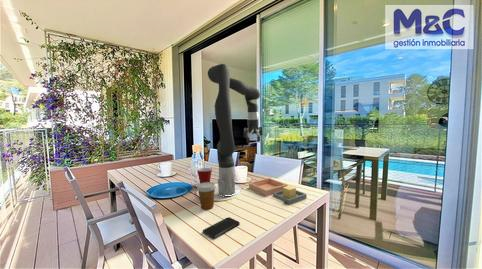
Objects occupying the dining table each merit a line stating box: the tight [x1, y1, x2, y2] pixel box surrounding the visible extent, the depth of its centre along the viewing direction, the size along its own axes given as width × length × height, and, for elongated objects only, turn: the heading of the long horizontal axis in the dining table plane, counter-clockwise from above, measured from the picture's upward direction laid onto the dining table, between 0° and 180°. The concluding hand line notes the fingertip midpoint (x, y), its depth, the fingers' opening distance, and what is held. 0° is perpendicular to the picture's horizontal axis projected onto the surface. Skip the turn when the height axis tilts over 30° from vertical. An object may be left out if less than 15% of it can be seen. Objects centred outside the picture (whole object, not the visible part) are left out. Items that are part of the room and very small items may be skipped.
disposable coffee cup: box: [196, 181, 217, 211], centre depth 105 cm, size 10×10×12 cm
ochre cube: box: [283, 185, 297, 199], centre depth 115 cm, size 5×5×5 cm
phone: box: [202, 216, 240, 240], centre depth 86 cm, size 8×1×15 cm
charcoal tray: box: [272, 189, 308, 205], centre depth 115 cm, size 14×12×2 cm
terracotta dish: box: [248, 177, 289, 197], centre depth 128 cm, size 17×17×4 cm
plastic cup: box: [196, 167, 213, 184], centre depth 138 cm, size 11×11×12 cm
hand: (253, 142), depth 141 cm, fingers open, 8 cm apart
